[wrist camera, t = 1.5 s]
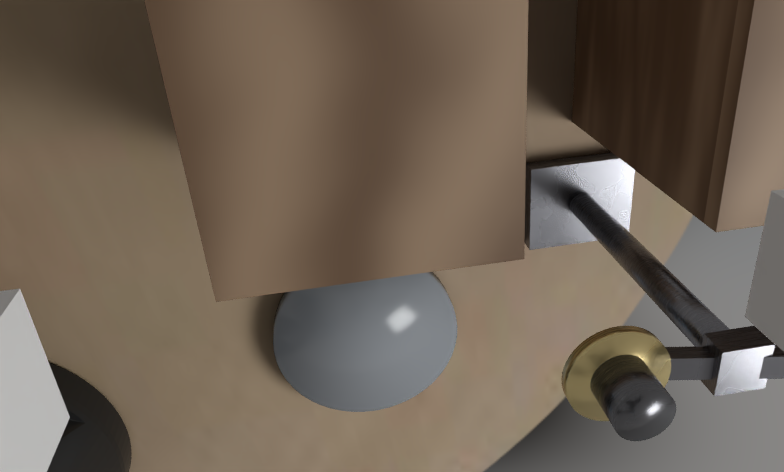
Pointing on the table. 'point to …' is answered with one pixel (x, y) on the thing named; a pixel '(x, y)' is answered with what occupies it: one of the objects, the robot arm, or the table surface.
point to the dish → (365, 340)
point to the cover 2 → (688, 98)
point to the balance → (633, 344)
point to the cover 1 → (347, 135)
